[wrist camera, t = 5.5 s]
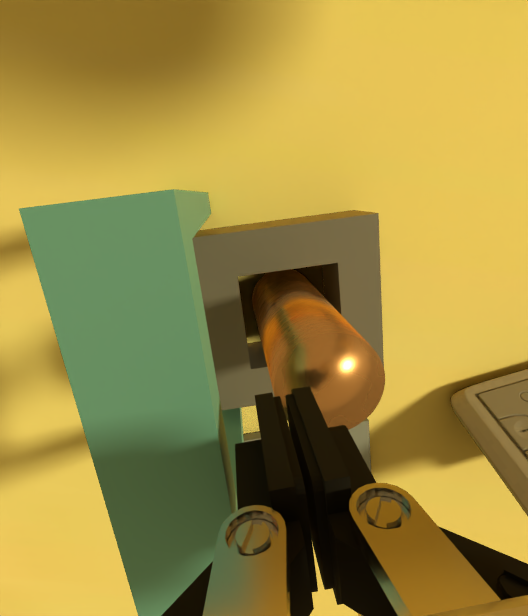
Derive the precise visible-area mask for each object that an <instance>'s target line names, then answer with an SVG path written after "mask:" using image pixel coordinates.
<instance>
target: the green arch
mask: <svg viewBox="0 0 528 616" xmlns="http://www.w3.org/2000/svg"><path fill="white" fill-rule="evenodd" d="M19 211H20V214H21V218H22V221H23V224H24V228H25V231H26V235H27V238H28V241H29V245H30V248H31V252H32V255H33V258H34V262H35V265H36V269H37V272H38V275H39V279H40V282H41V286H42V289H43V292H44V296H45V299H46V303H47V306H48V310H49V313H50V316H51V320H52V323H53V327H54V330H55V333H56V337H57V340H58V344H59V347H60V350H61V354H62V357H63V361H64V364H65V367H66V371H67V374H68V378H69V381H70V384H71V388H72V391H73V395H74V398H75V401H76V405H77V408H78V412H79V415H80V418H81V422H82V425H83V429H84V432H85V436H86V439H87V442H88V446H89V449H90V453H91V456H92V459H93V463H94V466H95V470H96V473H97V476H98V480H99V483H100V487H101V490H102V493H103V497H104V500H105V504H106V507H107V510H108V514H109V517H110V521H111V524H112V527H113V531H114V534H115V538H116V541H117V545H118V548H119V551H120V555H121V558H122V562H123V565H124V568H125V572H126V575H127V579H128V582H129V585H130V589H131V592H132V596H133V599H134V602H135V606H136V609H137V613H138V616H161V615H162V614H163V613H164V612H165V611H166V610H167V609H168V608H169V607H170V606H171V605H172V604H173V603H174V602H175V601H176V599H177V598H178V597H179V596H180V595H181V594H182V593H183V592H184V591H185V590H186V589H187V588H188V587H189V586H190V585H191V584H192V583H193V581H194V580H195V579H196V578H197V577H198V576H199V575H200V574H201V573H202V572H203V571H204V570H205V569H206V568H207V567H208V566H209V565H210V563H211V562H212V561H213V559H214V553H215V548H216V543H217V538H218V533H219V531H220V528H221V525H222V524H223V522H224V521H225V520H226V519H227V517H228V516H230V515H231V514H232V513H234V512H235V511H237V510H238V508H237V484H236V460H235V444H237V443H242V442H244V439H243V425H242V412H241V408H235V409H228V410H222V409H221V403H220V397H219V391H218V386H217V380H216V374H215V368H214V362H213V357H212V351H211V345H210V339H209V333H208V328H207V322H206V316H205V310H204V304H203V299H202V293H201V287H200V281H199V275H198V270H197V264H196V258H195V252H194V246H193V241H192V239H193V237H194V236H195V235H196V233H197V232H198V231H199V229H200V228H201V227H202V225H203V224H204V223H205V221H206V220H207V218H208V217H209V216H210V214H211V210H210V203H209V197H208V193H206V192H195V191H185V190H174V189H173V190H165V191H157V192H149V193H141V194H133V195H125V196H117V197H109V198H101V199H93V200H85V201H77V202H69V203H61V204H53V205H45V206H36V207H28V208H20V209H19Z"/></svg>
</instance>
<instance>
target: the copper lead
mask: <svg viewBox="0 0 528 616" xmlns="http://www.w3.org/2000/svg"><path fill="white" fill-rule="evenodd" d="M252 304H253V309H254V313H255V317H256V321H257V325H258V329H259V333H260V338H261V342H262V346H263V350H264V354H265V358H266V362H267V367H268V371H269V375H270V379H271V383H272V387H273V391H274V396H275V397H276V396H280V398H281V401H282V405H283V408H284V412H285V416H286V419H287V420H288V414H287V406H286V398H285V395H288V394H291V389H295V388H301V387H307V386H310V388H311V391H312V393H313V395H314V397H315V399H316V402H317V404H318V406H319V408H320V411H321V413H322V415H323V417H324V419H325V422H326V424H327V426H328V427H334V426H340V425H345V426H346V427H347V428H348V430H349V429H351V428H353V427H355V426H357V425H358V424H360V423H361V422H363V421H364V420H365V419H366V418H367V417H368V416H369V415H370V414H371V413H372V412H373V411H374V409H375V408H376V406H377V405H378V403H379V401H380V399H381V397H382V394H383V390H384V385H385V373H384V368H383V364H382V362H381V359H380V357H379V356H378V354H377V352H376V351H375V350H374V349H373V348H372V347H371V346H370V345H369V344H368V342H367V341H366V340H365V339H364V338H363V337H362V336H361V335H360V334H359V333H358V332H357V331H356V330H355V329H354V328H353V327H352V326H351V325H350V324H349V323H348V322H347V320H346V319H345V318H344V317H343V316H342V315H341V314H340V313H339V312H338V311H337V310H336V309H335V308H334V307H333V306H332V305H331V304H330V303H329V302H328V301H327V300H326V298H325V297H324V296H323V295H322V294H321V293H320V292H319V291H318V290H317V289H316V288H315V287H314V286H313V285H312V284H311V283H310V282H309V281H308V280H307V279H306V278H305V277H304V276H303V275H302V274H301V273H299V272H297V271H295V270H292V269H289V270H281V271H274V272H268V273H267V274H265V275H264V276H263V277H262V278H261V279H260V280H259V281H258V282H257V284H256V286H255V288H254V291H253V295H252Z"/></svg>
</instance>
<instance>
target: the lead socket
mask: <svg viewBox="0 0 528 616" xmlns="http://www.w3.org/2000/svg"><path fill="white" fill-rule="evenodd" d="M192 241H193V246H194V252H195V258H196V264H197V270H198V275H199V281H200V287H201V293H202V299H203V304H204V310H205V316H206V322H207V328H208V333H209V339H210V345H211V351H212V357H213V362H214V368H215V374H216V380H217V386H218V391H219V397H220V403H221V409H222V410H228V409H235V408H241V407H247V406H254V405H256V402H255V395H259V394H265V393H271V392H272V394H273V397H275V396H274V391H273V387H272V383H271V379H270V375H269V371H268V367H267V362H266V358H265V354H264V350H263V346H262V342H255V343H248V344H247V339H246V332H245V325H244V318H243V311H242V304H241V297H240V290H239V283H238V276H245V275H252V274H260V273H267V272H274V271H281V270H289V269H296V268H303V267H310V266H318V265H322V277H323V290H324V297H325V298H326V300H327V301H328V302H329V303H330V304H331V305H332V306H333V307H334V308H335V309H336V310H337V311H338V312H339V313H340V314H341V315H342V316H343V317H344V318H345V319H346V320H347V322H348V323H349V324H350V325H351V326H352V327H353V328H354V329H355V330H356V331H357V332H358V333H359V334H360V335H361V336H362V337H363V338H364V339H365V340H366V341H367V342H368V344H369V345H370V346H371V347H372V348H373V349H374V350H375V351H376V352H377V354H378V356H379V357H380V359H381V362H382V364H383V368H384V363H383V334H382V305H381V276H380V247H379V219H378V213H372V212H364V211H356V210H352V211H344V212H337V213H329V214H321V215H314V216H306V217H299V218H291V219H283V220H276V221H268V222H260V223H253V224H245V225H237V226H230V227H222V228H214V229H207V230H199V231H198V232H197V233H196V235H195V236H194V237H193V239H192Z"/></svg>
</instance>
